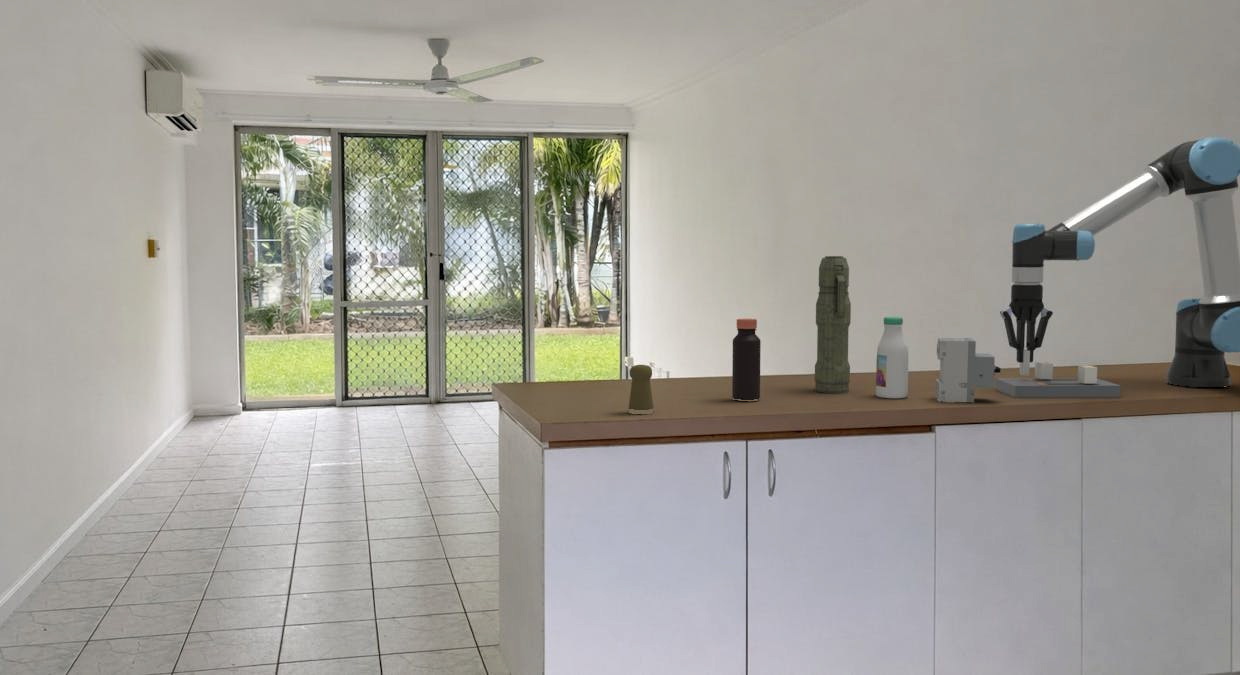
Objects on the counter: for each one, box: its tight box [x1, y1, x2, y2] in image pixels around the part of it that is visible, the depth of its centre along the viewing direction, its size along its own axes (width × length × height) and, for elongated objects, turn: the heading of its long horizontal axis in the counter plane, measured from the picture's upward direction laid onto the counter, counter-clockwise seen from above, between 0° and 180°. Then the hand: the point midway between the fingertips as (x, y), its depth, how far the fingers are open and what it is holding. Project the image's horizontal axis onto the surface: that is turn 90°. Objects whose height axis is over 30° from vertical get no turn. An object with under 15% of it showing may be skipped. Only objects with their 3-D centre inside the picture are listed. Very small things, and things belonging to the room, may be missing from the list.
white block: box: [1077, 365, 1098, 383], centre depth 257 cm, size 3×4×4 cm
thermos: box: [814, 255, 852, 394], centre depth 266 cm, size 9×12×35 cm
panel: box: [994, 377, 1122, 399], centre depth 262 cm, size 26×14×3 cm, turn 89°
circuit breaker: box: [935, 337, 1001, 404], centre depth 251 cm, size 8×14×15 cm, turn 79°
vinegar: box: [731, 318, 762, 400], centre depth 252 cm, size 7×7×20 cm
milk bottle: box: [875, 316, 909, 399], centre depth 257 cm, size 8×8×20 cm
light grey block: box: [1034, 361, 1054, 379], centre depth 265 cm, size 3×4×4 cm
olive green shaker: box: [628, 364, 654, 410], centre depth 235 cm, size 6×6×11 cm
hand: (1024, 374), depth 266 cm, fingers closed
